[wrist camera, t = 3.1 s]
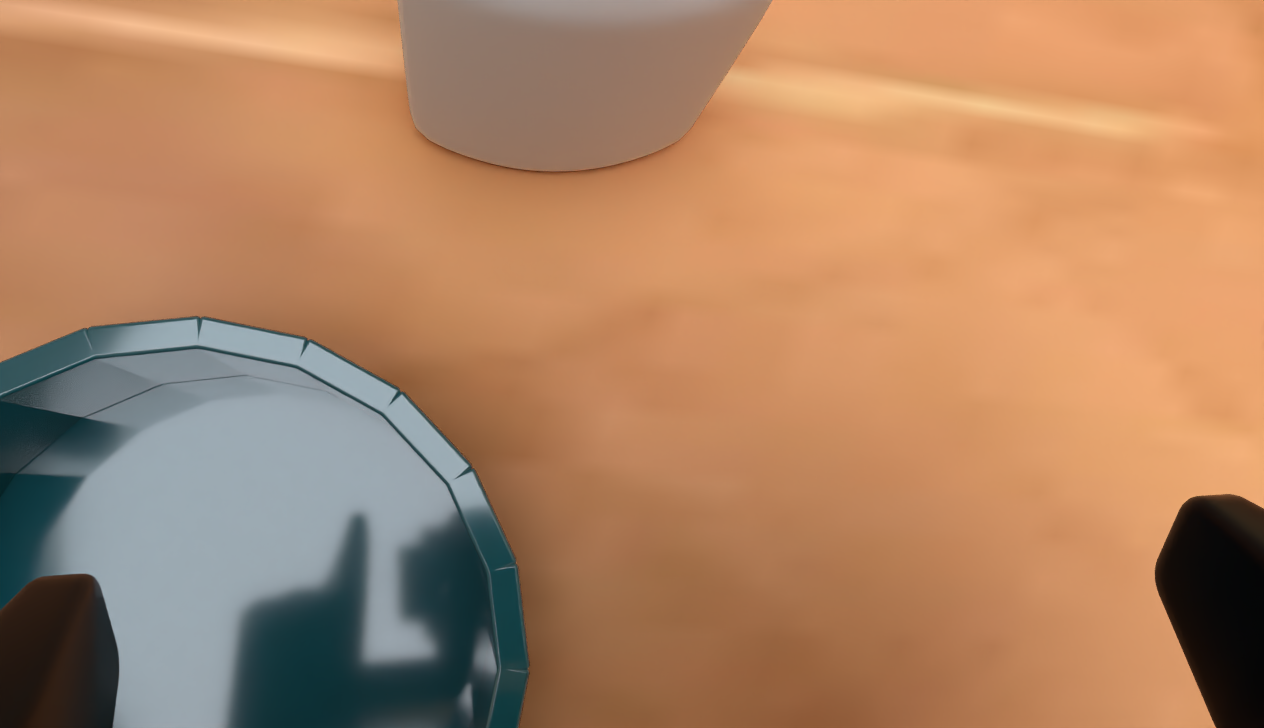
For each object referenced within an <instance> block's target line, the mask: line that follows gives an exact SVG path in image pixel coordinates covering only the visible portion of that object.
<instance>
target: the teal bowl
mask: <svg viewBox="0 0 1264 728" xmlns="http://www.w3.org/2000/svg"><path fill="white" fill-rule="evenodd" d="M82 573H85V574H90V575H92V576H94V577H95V578H96V579H97V581H98V582H99V584H100V586H101V589H102V593H103V596H104V600H105V603H106V607H107V611H108V614H109V618H110V621H111V625H112V628H113V632H114V636H115V639H116V643H117V647H118V653H119V682H118V690H117V698H116V706H115V714H114V722H113V728H519V725H520V720H521V715H522V710H523V704H524V699H525V694H526V689H527V684H528V679H529V674H530V673H529V666H530V662H529V653H528V645H527V636H526V627H525V619H524V610H523V602H522V593H521V584H520V576H519V567H518V565H517V563H516V557H515V555H514V553H513V551H512V548H511V546H510V544H509V542H508V540H507V537H506V535H505V533H504V531H503V529H502V527H501V524H500V522H499V520H498V518H497V516H496V514H495V511H494V509H493V507H492V505H491V503H490V500H489V498H488V496H487V494H486V492H485V490H484V487H483V485H482V483H481V481H480V479H479V476H478V474H477V472H476V470H475V469H474V468H472V464H471V463H470V462H469V461H468V460H467V459H466V458H465V456H464V455H463V454H462V453H461V452H460V451H459V450H458V449H457V448H456V447H455V446H454V445H453V444H452V442H451V441H450V440H449V439H448V438H447V437H446V436H445V435H444V434H443V433H442V432H441V431H440V430H439V428H438V427H437V426H436V425H435V424H434V423H433V422H432V421H431V420H430V419H429V418H428V417H427V416H426V414H425V413H424V412H423V411H422V410H421V409H420V408H419V407H418V406H417V405H416V404H415V403H414V402H413V400H412V399H411V398H410V397H409V396H408V395H407V394H406V393H405V392H403V391H401V390H400V388H399V387H397V386H395V385H393V384H391V383H390V382H388V381H386V380H384V379H382V378H381V377H379V376H377V375H375V374H373V373H372V372H370V371H368V370H366V369H364V368H363V367H361V366H359V365H357V364H355V363H354V362H352V361H350V360H348V359H346V358H345V357H343V356H341V355H339V354H337V353H336V352H334V351H332V350H330V349H328V348H327V347H325V346H323V345H321V344H319V343H318V342H316V341H314V340H312V339H309V340H308V338H306V337H304V336H299V335H294V334H289V333H284V332H279V331H274V330H269V329H264V328H259V327H255V326H250V325H245V324H240V323H235V322H230V321H225V320H220V319H215V318H210V317H205V316H204V317H201V318H200V317H198V316H192V317H181V318H171V319H161V320H151V321H140V322H130V323H120V324H110V325H99V326H91V327H89V328H88V329H87V328H83V329H80V330H78V331H75V332H73V333H70V334H68V335H65V336H63V337H61V338H58V339H56V340H53V341H51V342H48V343H46V344H44V345H41V346H39V347H36V348H34V349H31V350H29V351H26V352H24V353H22V354H19V355H17V356H14V357H12V358H9V359H7V360H5V361H2V362H0V610H1V609H2V608H3V607H4V606H5V605H6V604H7V603H8V602H9V601H10V600H11V599H12V598H13V597H14V596H15V595H16V594H17V593H18V592H19V591H20V590H21V589H22V588H23V587H24V586H26V585H27V584H28V583H29V582H31V581H32V580H34V579H36V578H39V577H42V576H54V575H68V574H82Z"/></svg>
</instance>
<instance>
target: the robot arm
mask: <svg viewBox="0 0 1264 728" xmlns="http://www.w3.org/2000/svg"><path fill="white" fill-rule="evenodd" d="M1155 582H1156V586H1157V590H1158V593H1159V596H1160V598H1161V600H1162V603H1163V605H1164V607H1165V610H1166V612H1167V614H1168V617H1169V619H1170V621H1171V624H1172V626H1173V629H1174V631H1175V633H1176V636H1177V638H1178V640H1179V643H1180V645H1181V647H1182V650H1183V652H1184V654H1185V657H1186V659H1187V661H1188V664H1189V666H1190V668H1191V671H1192V673H1193V675H1194V678H1195V680H1196V682H1197V685H1198V687H1199V690H1200V692H1201V694H1202V697H1203V699H1204V701H1205V704H1206V706H1207V708H1208V711H1209V713H1210V715H1211V718H1212V720H1213V722H1214V724H1215V726H1216V728H1264V509H1263V508H1261V507H1259V506H1257V505H1256V504H1254V503H1252V502H1250V501H1248V500H1246V499H1244V498H1242V497H1240V496H1237V495H1231V494H1223V495H1208V496H1196V497H1193V498H1190V499H1189V500H1187V501H1186V502H1185V503H1184V504H1183V505H1182V507H1181V508H1180V510H1179V512H1178V514H1177V517H1176V519H1175V521H1174V523H1173V526H1172V528H1171V530H1170V532H1169V535H1168V537H1167V539H1166V541H1165V543H1164V546H1163V548H1162V550H1161V552H1160V555H1159V557H1158V559H1157V562H1156V567H1155ZM118 682H119V653H118V647H117V643H116V639H115V636H114V632H113V628H112V625H111V621H110V618H109V614H108V611H107V607H106V603H105V600H104V596H103V593H102V589H101V586H100V584H99V582H98V581H97V579H96V578H95V577H94V576H92V575H90V574H85V573H82V574H68V575H54V576H42V577H39V578H36V579H34V580H32V581H31V582H29V583H28V584H27V585H26V586H24V587H23V588H22V589H21V590H20V591H19V592H18V593H17V594H16V595H15V596H14V597H13V598H12V599H11V600H10V601H9V602H8V603H7V604H6V605H5V606H4V607H3V608H2V609H1V610H0V728H113V722H114V714H115V706H116V698H117V690H118Z"/></svg>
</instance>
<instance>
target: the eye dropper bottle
mask: <svg viewBox="0 0 1264 728" xmlns="http://www.w3.org/2000/svg"><path fill="white" fill-rule="evenodd" d="M771 2H772V0H398V10H399V19H400V29H401V38H402V48H403V56H404V65H405V74H406V83H407V91H408V100H409V108H410V113H411V116H412V119H413V122H414V125H415V127H416V129H417V130H418V131H420V132H421V133H422V134H423V135H424V136H425V137H426V138H427V139H428V140H430V141H432V142H434V143H436V144H438V145H440V146H442V147H444V148H446V149H448V150H451V151H454V152H456V153H459V154H461V155H464V156H467V157H470V158H473V159H477V160H480V161H484V162H487V163H491V164H495V165H500V166H505V167H510V168H516V169H523V170H533V171H551V172H560V171H579V170H588V169H595V168H602V167H607V166H611V165H616V164H620V163H623V162H627V161H631V160H634V159H637V158H640V157H643V156H646V155H649V154H652V153H654V152H657V151H659V150H661V149H663V148H665V147H667V146H669V145H671V144H673V143H675V142H677V141H679V140H680V139H681V138H682V137H683V136H684V135H685V134H686V133H687V132H688V131H689V130H690V129H691V127H692V126H693V125H694V123H695V122H696V120H697V119H698V117H699V116H700V114H701V112H702V111H703V109H704V108H705V106H706V105H707V103H708V102H709V100H710V99H711V97H712V96H713V94H714V93H715V91H716V89H717V88H718V86H719V85H720V83H721V82H722V80H723V79H724V77H725V76H726V74H727V73H728V71H729V70H730V68H731V66H732V65H733V63H734V62H735V60H736V59H737V57H738V55H739V54H740V52H741V51H742V49H743V48H744V46H745V44H746V43H747V41H748V40H749V38H750V37H751V35H752V33H753V32H754V30H755V29H756V27H757V26H758V24H759V22H760V21H761V19H762V17H763V16H764V14H765V12H766V10H767V9H768V7H769V5H770V4H771Z"/></svg>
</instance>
